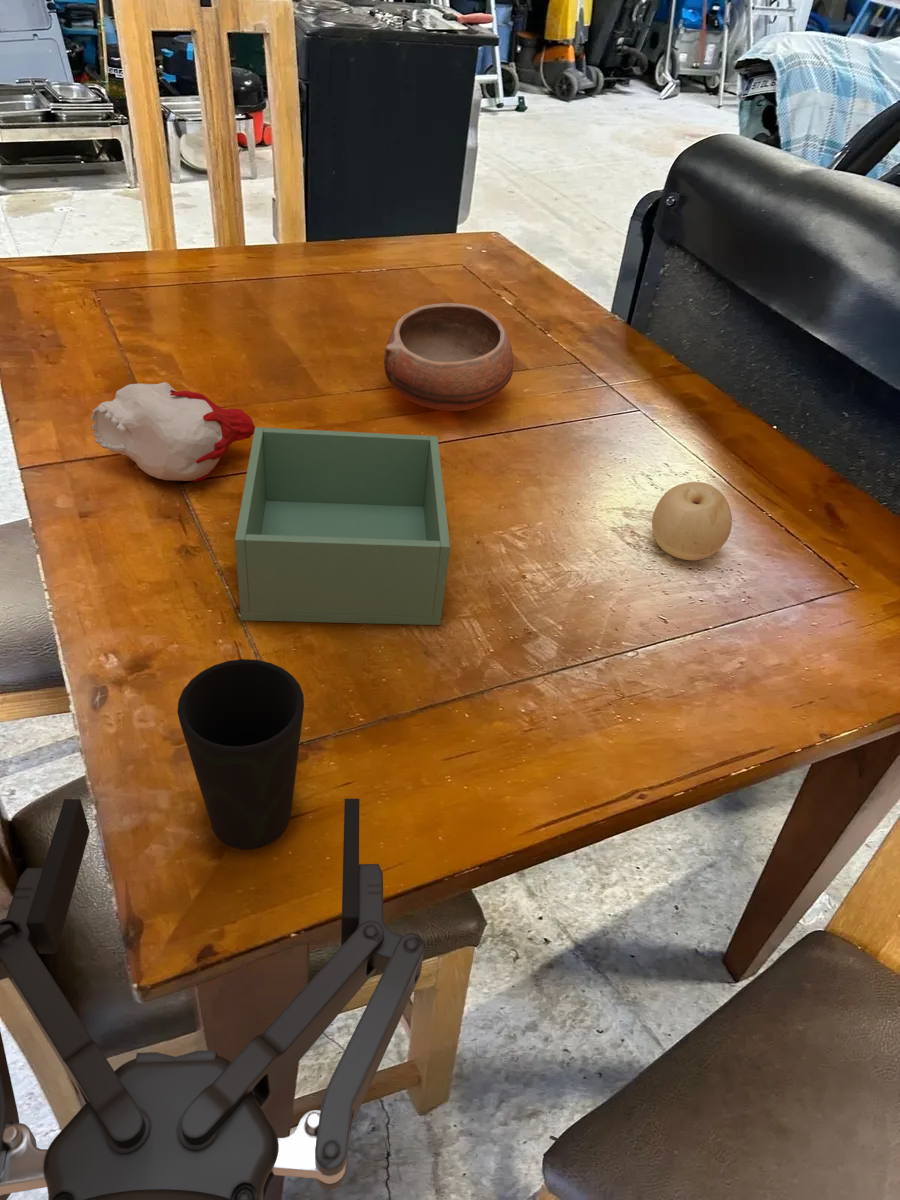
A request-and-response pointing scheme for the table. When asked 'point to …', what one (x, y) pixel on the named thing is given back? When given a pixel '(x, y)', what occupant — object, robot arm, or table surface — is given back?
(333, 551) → the open storage box
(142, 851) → the table surface
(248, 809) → the cup
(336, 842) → the table surface
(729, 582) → the table surface
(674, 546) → the apple
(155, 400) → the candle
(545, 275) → the table surface
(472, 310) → the bowl
